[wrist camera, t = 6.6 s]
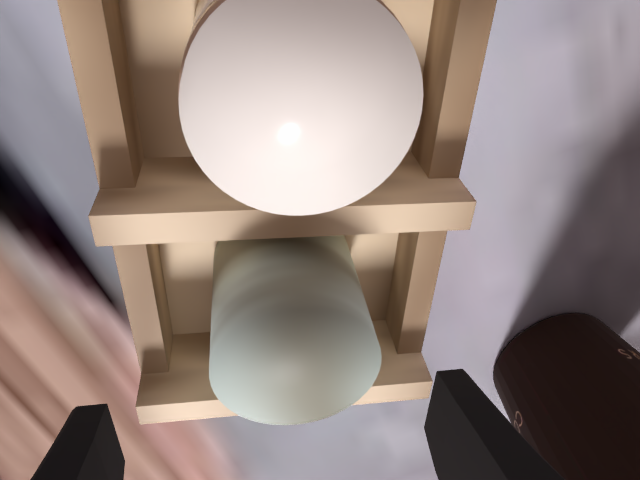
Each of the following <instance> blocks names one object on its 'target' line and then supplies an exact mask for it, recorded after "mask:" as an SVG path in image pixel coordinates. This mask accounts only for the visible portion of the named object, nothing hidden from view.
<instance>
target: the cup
mask: <svg viewBox="0 0 640 480" xmlns="http://www.w3.org/2000/svg"><path fill="white" fill-rule="evenodd" d="M178 102H179V116H180V121H181V126H182V131H183V134H184V137H185V140H186V143H187V145H188V147H189V149H190V151H191V153H192V155H193V157H194V159H195V161H196V162H197V164H198V165H199V166H200V168H201V169H202V171H203V172H204V173H205V174H206V175H207V176H208V178H209V179H210V180H211V181H212V182H213V183H214V184H215V185H216V186H218V187H219V188H220V189H221V190H222V191H223V192H225V193H226V194H228V195H229V196H231V197H232V198H234V199H235V200H237V201H239V202H241V203H243V204H245V205H247V206H250V207H253V208H255V209H258V210H261V211H265V212H269V213H273V214H280V215H289V216H304V215H313V214H320V213H324V212H329V211H333V210H335V209H338V208H341V207H344V206H346V205H349V204H351V203H353V202H355V201H357V200H359V199H360V198H362V197H364V196H365V195H367V194H369V193H370V192H371V191H373V190H374V189H375V188H377V187H378V186H379V185H380V184H381V183H383V182H384V181H385V180H386V179H387V178H388V177H389V176H390V175H391V174H392V172H393V171H394V170H395V169H396V168H397V166H398V165H399V164H400V163H401V161H402V159H403V158H404V156H405V155H406V153H407V152H408V150H409V148H410V146H411V144H412V142H413V140H414V137H415V134H416V132H417V129H418V126H419V122H420V117H421V113H422V105H423V79H422V73H421V68H420V63H419V60H418V57H417V54H416V51H415V49H414V47H413V45H412V43H411V41H410V39H409V37H408V35H407V33H406V32H405V30H404V28H403V26H402V25H401V23H400V22H399V21H398V19H397V18H396V16H395V15H394V13H393V12H392V11H391V10H390V9H389V8H388V7H387V6H386V5H385V4H384V3H383V2H382V1H381V0H199V2H198V5H197V8H196V13H195V17H194V22H193V26H192V31H191V34H190V37H189V39H188V42H187V45H186V47H185V51H184V55H183V60H182V64H181V69H180V73H179V83H178Z"/></svg>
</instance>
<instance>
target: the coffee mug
mask: <svg viewBox="0 0 640 480" xmlns="http://www.w3.org/2000/svg"><path fill="white" fill-rule="evenodd" d="M493 380H494V384H495V387H496V390H497V392H498V394H499V396H500V399H501V401H502V403H503V406H504V408H505V410H506V412H507V415H508V417H509V419H510V422H511V424H512V425H513V426H514V427H515V429H516V430H517V431H518V432H519V433H520V434H521V435H522V436H523V437H524V438H525V439H526V440H527V441H528V442H529V443H530V444H531V446H532V447H533V448H534V449H535V450H536V451H537V452H538V453H539V454H540V455H541V456H542V457H543V458H544V459H545V460H546V461H547V462H548V463H549V464H550V465H551V466H552V467H553V468H554V469H555V470H556V471H557V472H558V473H559V474H560V475H561V476H562V477H563V478H564V479H565V480H640V353H639V352H638V351H637V350H636V349H634V348H633V347H632V346H631V345H629V344H628V343H627V342H626V341H625V340H623V339H622V338H621V337H620V336H618V335H617V334H616V333H615V332H614V331H612V330H611V329H610V328H609V327H607V326H606V325H605V324H604V323H603V322H601V321H600V320H598V319H597V318H595V317H593V316H590V315H587V314H579V313H570V314H562V315H558V316H554V317H550V318H548V319H545V320H543V321H540V322H538V323H536V324H535V325H533V326H531V327H529V328H527V329H526V330H525V331H523V332H522V333H520V334H519V335H518V336H516V337H515V338H514V339H513V340H512V341H511V342H510V343H509V344H508V345H507V347H506V348H505V349H504V350H503V352H502V353H501V355H500V356H499V358H498V360H497V362H496V365H495V368H494V374H493Z"/></svg>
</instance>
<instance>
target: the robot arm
mask: <svg viewBox="0 0 640 480" xmlns="http://www.w3.org/2000/svg"><path fill="white" fill-rule="evenodd" d="M424 429H425V433H426V437H427V441H428V445H429V449H430V453H431V456H432V460H433V463H434V467H435V471H436V474H437V476H438V479H439V480H565V479H564V478H563V477H562V476H561V475H560V474H559V473H558V472H557V471H556V470H555V469H554V468H553V467H552V466H551V465H550V464H549V463H548V462H547V461H546V460H545V459H544V458H543V457H542V456H541V455H540V454H539V453H538V452H537V451H536V450H535V449H534V448H533V447H532V446H531V444H530V443H529V442H528V441H527V440H526V439H525V438H524V437H523V436H522V435H521V434H520V433H519V432H518V431H517V430H516V429H515V427H514V426H513V425H512V424H511V423H510V422H509V421H508V420H507V419H506V418H505V416H504V415H503V414H502V413H501V412H500V411H499V410H498V409H497V407H496V406H495V405H494V404H493V403H492V402H491V401H490V399H489V398H488V397H487V396H486V395H485V394H484V393H483V391H482V390H481V389H480V388H479V387H478V386H477V384H476V383H475V382H474V381H473V380H472V379H471V377H470V376H469V375H468V374H467V373H466V372H465V371H464V370H463V369H456V370H446V371H437V373H436V377H435V382H434V386H433V390H432V395H431V399H430V404H429V408H428V413H427V417H426V421H425V426H424ZM124 466H125V460H124V456H123V453H122V450H121V447H120V444H119V440H118V437H117V434H116V431H115V428H114V424H113V421H112V418H111V415H110V412H109V408H108V405H107V404H98V405H88V406H78V407H76V408H75V409H73V410H72V412H71V414H70V415H69V417H68V419H67V421H66V422H65V424H64V426H63V428H62V429H61V431H60V433H59V434H58V436H57V438H56V439H55V441H54V443H53V444H52V446H51V448H50V449H49V451H48V453H47V454H46V456H45V458H44V459H43V461H42V462H41V464H40V466H39V467H38V469H37V470H36V472H35V474H34V475H33V477H32V478H31V480H123V477H124Z"/></svg>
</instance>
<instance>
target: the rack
mask: <svg viewBox="0 0 640 480" xmlns="http://www.w3.org/2000/svg"><path fill="white" fill-rule="evenodd" d="M57 1H58V6H59V10H60V15H61V19H62V24H63V28H64V32H65V37H66V41H67V46H68V50H69V55H70V59H71V64H72V68H73V72H74V77H75V81H76V86H77V90H78V95H79V99H80V104H81V108H82V112H83V117H84V121H85V126H86V130H87V135H88V139H89V144H90V148H91V152H92V157H93V161H94V166H95V170H96V175H97V179H98V184H99V188H100V189H99V192H98V194H97V197H96V199H95V201H94V204H93V206H92V209H91V211H90V214H89V220H90V224H91V228H92V233H93V237H94V241H95V245H96V246H113V250H114V255H115V259H116V264H117V268H118V273H119V277H120V281H121V286H122V290H123V295H124V299H125V304H126V308H127V313H128V317H129V321H130V326H131V330H132V335H133V339H134V344H135V348H136V353H137V357H138V362H139V366H140V370H141V379H140V385H139V390H138V396H137V402H136V411H137V415H138V419H139V423H140V424H150V423H161V422H172V421H183V420H194V419H205V418H216V417H227V416H238V415H239V416H241V417H244V418H246V419H249V420H252V421H255V422H260V423H264V424H272V425H296V424H304V423H309V422H314V421H318V420H321V419H324V418H327V417H330V416H332V415H335V414H337V413H339V412H341V411H343V410H345V409H346V408H348V407H349V406H351V405H359V404H370V403H381V402H392V401H403V400H414V399H425V398H429V394H430V390H431V386H432V382H433V381H432V379H431V376H430V374H429V371H428V368H427V366H426V363H425V361H424V358H423V356H422V353H421V350H422V346H423V341H424V336H425V332H426V327H427V322H428V318H429V313H430V308H431V304H432V299H433V295H434V290H435V285H436V281H437V276H438V271H439V267H440V262H441V257H442V253H443V248H444V243H445V239H446V234H447V231H448V230H470V226H471V222H472V218H473V214H474V210H475V205H476V200H475V199H474V198H473V196H472V195H471V194H470V192H469V191H468V190H467V188H466V187H465V186H464V184H463V183H462V182H461V180H460V179H459V174H460V169H461V164H462V160H463V155H464V151H465V146H466V141H467V137H468V132H469V127H470V123H471V118H472V113H473V109H474V104H475V99H476V95H477V90H478V86H479V81H480V76H481V72H482V67H483V62H484V58H485V53H486V48H487V44H488V39H489V34H490V30H491V25H492V21H493V16H494V11H495V7H496V2H497V0H381V1H382V2H383V3H384V4H385V5H386V6H387V7H388V8H389V9H390V10H391V11H392V12H393V13H394V15H395V16H396V18H397V19H398V21H399V22H400V23H401V25H402V26H403V28H404V30H405V32H406V33H407V35H408V37H409V39H410V41H411V43H412V45H413V47H414V49H415V51H416V54H417V57H418V60H419V63H420V68H421V73H422V79H423V105H422V113H421V117H420V122H419V126H418V129H417V132H416V134H415V137H414V140H413V142H412V144H411V146H410V148H409V150H408V152H407V153H406V155H405V156H404V158H403V159H402V161H401V163H400V164H399V165H398V166H397V168H396V169H395V170H394V171H393V172H392V174H391V175H390V176H389V177H388V178H387V179H386V180H385V181H384V182H383V183H381V184H380V185H379V186H378V187H377V188H375V189H374V190H373V191H371V192H370V193H369V194H367V195H365V196H364V197H362V198H360V199H359V200H357V201H355V202H353V203H351V204H349V205H346V206H344V207H341V208H338V209H335V210H333V211H329V212H324V213H320V214H313V215H304V216H289V215H280V214H273V213H269V212H265V211H261V210H258V209H255V208H253V207H250V206H247V205H245V204H243V203H241V202H239V201H237V200H235V199H234V198H232V197H231V196H229V195H228V194H226V193H225V192H223V191H222V190H221V189H220V188H219V187H218V186H216V185H215V184H214V183H213V182H212V181H211V180H210V179H209V178H208V176H207V175H206V174H205V173H204V172H203V171H202V169H201V168H200V166H199V165H198V164H197V162H196V161H195V159H194V157H193V155H192V153H191V151H190V149H189V147H188V145H187V143H186V140H185V137H184V134H183V131H182V126H181V121H180V116H179V102H178V83H179V73H180V69H181V64H182V60H183V55H184V51H185V47H186V45H187V42H188V39H189V37H190V34H191V31H192V26H193V22H194V17H195V13H196V8H197V5H198V2H199V0H57Z"/></svg>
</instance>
